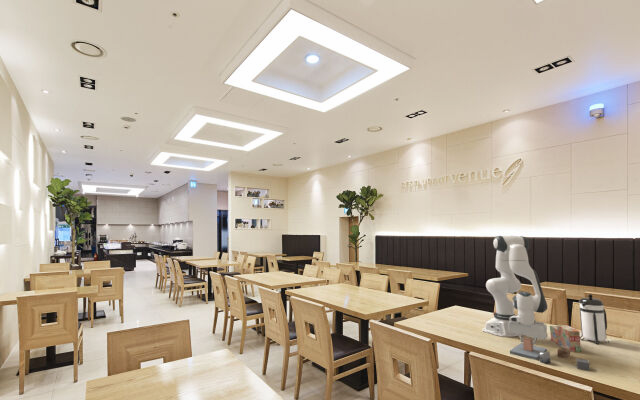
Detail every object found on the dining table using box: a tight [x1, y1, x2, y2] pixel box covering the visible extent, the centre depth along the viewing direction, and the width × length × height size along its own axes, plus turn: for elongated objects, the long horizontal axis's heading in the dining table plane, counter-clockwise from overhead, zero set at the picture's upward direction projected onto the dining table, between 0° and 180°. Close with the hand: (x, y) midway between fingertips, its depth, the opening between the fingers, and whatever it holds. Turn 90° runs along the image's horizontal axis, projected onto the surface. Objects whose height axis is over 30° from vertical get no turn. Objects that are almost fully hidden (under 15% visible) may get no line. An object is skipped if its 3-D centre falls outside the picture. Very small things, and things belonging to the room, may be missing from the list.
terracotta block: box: [522, 337, 534, 351], centre depth 199 cm, size 4×4×6 cm
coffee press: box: [578, 293, 610, 346], centre depth 218 cm, size 17×16×30 cm
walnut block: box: [556, 346, 571, 360], centre depth 191 cm, size 5×5×4 cm
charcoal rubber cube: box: [575, 357, 591, 372], centre depth 175 cm, size 5×5×4 cm
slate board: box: [509, 342, 548, 361], centre depth 198 cm, size 14×20×2 cm
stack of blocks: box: [549, 324, 582, 353], centre depth 209 cm, size 21×6×12 cm, turn 172°
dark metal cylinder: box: [539, 351, 552, 365], centre depth 184 cm, size 5×5×5 cm
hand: (528, 343), depth 199 cm, fingers open, 5 cm apart
